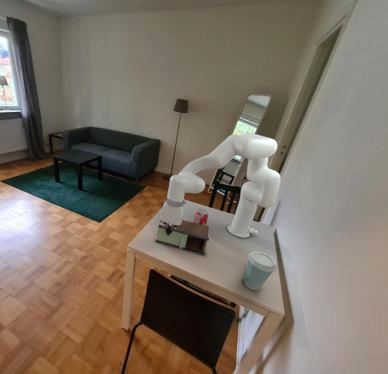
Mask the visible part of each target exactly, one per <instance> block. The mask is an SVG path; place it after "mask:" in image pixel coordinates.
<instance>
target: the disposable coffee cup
mask: <svg viewBox="0 0 388 374" xmlns="http://www.w3.org/2000/svg"><path fill="white" fill-rule="evenodd" d="M277 264H278V263H277V260H276V259H275V258H274V257H273V256H271V255H269V254H268V253H265V252H263V251H258V250H257V251H251V252H249V253H248V254H247V260H246V265H245V270H244V275H243V284H244V285H245V286H246V287H247V288H249V289H250V290H253V291H258V290H260V289H261V287H262V286H263V285H264V284H265V283H266V282H267V280H268V279H269V277H270V276H271V275H272V274H273V273H274V272H275V271H276V270H277V269H278V265H277Z"/></svg>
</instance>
